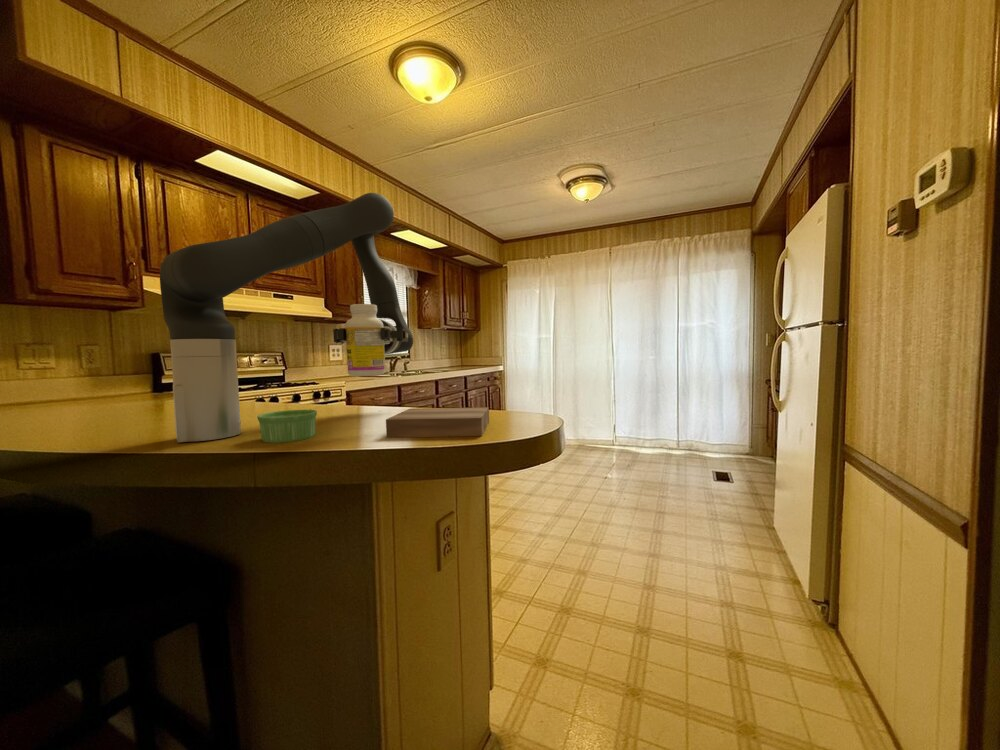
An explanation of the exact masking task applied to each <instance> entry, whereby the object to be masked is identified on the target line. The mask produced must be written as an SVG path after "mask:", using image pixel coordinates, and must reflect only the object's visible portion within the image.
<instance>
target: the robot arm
mask: <svg viewBox="0 0 1000 750" xmlns="http://www.w3.org/2000/svg"><path fill="white" fill-rule="evenodd" d="M394 213H395V212H394V208H393V206H392V204H391V202H390V201H389V200H388V199H387V198H386V197H385V196H383V195H382V194H379V193H376V192H367V193H365V194H361V196H358V197H357V198H354V199H352V200H351V201H348V202H347V203H344V204H341V205H337V206H331V207H324V208H320V209H315V210H311V211H306V212H303V213H297V214H295V215H291V216H287V217H285V218H284V217H283V218H282V219H277V220H275V221H273V222H271V223H269V224H266V225H265V226H262V227H261V228H259V229H257V230H255V231H253V232H251V233H249V234H246V235H242V236H237V237H233V238H232V237H231V238H226V239H222V240H216V241H215V240H214V241H209V242H203V243H197V244H196V243H195V244H190V245H187V246H185V247H183V248H180V249H178V250H175V251H173V252H171V253H169V254H168V255H167V256H165V258H164V259H163V260H162V262H161V264H160V270H159V286H160V295H161V296H160V297H161V306H162V314H163V318H164V319H163V320H164V322H165V325H166V326H167V328H168V332H169V333H168V334H169V339H170V340H169V341H170V343H169V344H170V356H171V357H170V358H171V371H172V372H171V373H172V394H173V395H172V397H173V410H174V411H173V412H174V423H175V424H174V425H175V437H176V442H177V443H186V442H190V443H191V442H203V441H213V440H219V439H225V438H230V437H234V436H237V435H240V434H241V433H242V429H241V428H242V422H241V409H240V407H241V406H240V393H239V377H238V376H239V375H238V359H237V358H238V357H237V345H236V344H237V343H236V341H237V340H236V328H235V326H234V324H233V323H231V322H230V321H229V320H228V318H227V317H226V314H225V306H224V305H225V304H224V298H225V297H227V296H229V295H231V294H233V293H235V292H236V291H238V290H240V289H242V288H243V287H245V286H247V285H249V284H250V283H252V282H254V281H256V280H258V279H260V278H261V277H264V276H266V275H268V274H270V273H275V272H278V271H283V270H287V269H291V268H292V269H293V268H294V267H298V266H301V265H305V264H307V263H309V262H312V261H314V260H317V259H319V258H322V257H323V256H326V255H328V254H330V253H332V252H333V251H335V250H337V249H339V248H341V247H342V246H344V245H346V244H348V243H349V242H351V243H352V246H353V249H354V252H355V254H356V257H357V259H358V262H359V265H360V267H361V270H362V273H363V276H364V280H365V285H366V287H367V288H366V289H367V294H368V297H369V302H370V303H369V304H372V305H377V314H376V317H377V319H379V320H381V321H382V323H383V328H381V339H382V340H384V350H385V356H387V355H391V354H397V353H403V352H407V351H410V350H411V349H412V347H413V345H414V336H413V334H412V332H411V329H410V328H409V326H408V324H407V322H406V320H405V318H404V315H403V313H402V311H401V307H400V302H399V297H398V291H397V287H396V283H395V281H394V279H393V277H392V275H391V273H390V272H389V270H388V269H387V267H386V265H384V263H383V261H382V260H381V257H380V256H379V255H378V252H377V248H376V242H375V235H378V234H380V233H383V232H384V231H385V232H386V230H388V229H389V227H391V225H392V223H393V221H394V219H395V218H394V217H395V214H394ZM383 319H386V320H387V319H388V320H391V321H393V322H394V324H395V325H393V324H392V323H390V322H388V321H386V320H383ZM332 332H333V333H332V334H333V343H336V344H341V345H342V344H346V327H344V328H342V327H341V328H333V329H332Z"/></svg>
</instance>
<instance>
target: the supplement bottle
mask: <svg viewBox="0 0 1000 750" xmlns="http://www.w3.org/2000/svg"><path fill="white" fill-rule="evenodd" d="M349 308H350V309H349V312H350V314H351V318H350V319H348V320H347V321H346V322H345V328H346V343H345V344H346V363H347V374H348V376H351V377H369V376H370V377H371V376H372V377H373V376H374V377H375V376H380V375H381V376H382V375H384V374H386V355H385V350H384V340H382V339H381V328H383V323H382V321H381V320H382V319H381V320H379V319H380V318H377V317H376V314H377V305H372V304H371V303H356V304H355V303H354V304H351V305H349Z"/></svg>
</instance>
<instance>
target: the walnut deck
mask: <svg viewBox="0 0 1000 750" xmlns="http://www.w3.org/2000/svg"><path fill="white" fill-rule="evenodd" d="M489 408H490V407H489V406H488V407H487V406H486V407H484V406H483V407H440V408H439V407H437V408H436V407H431V408H407V409H405V410H403V411H401V412H399V413H397V414H395V415H393V416H390V417H389V418H386V419H385V429H386V431H385V432H386V438H427V437H428V438H431V437H433V438H435V437H436V438H440V437H441V438H442V437H445V438H446V437H449V436H450V437H451V438H452V437H482V436H483V435H484V433H485V432H486V429H487V428H488V426H489V424H490V409H489ZM487 425H488V426H487Z"/></svg>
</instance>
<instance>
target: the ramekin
mask: <svg viewBox="0 0 1000 750" xmlns="http://www.w3.org/2000/svg"><path fill="white" fill-rule="evenodd" d="M317 413H318V412H317V410H315V409H287V410H286V409H285V410H277V411H270V412H264V413H260V414H257V421H258V422H259V429H260V435H261V440H262V441H263V442H265V443H269V444H270V443H271V444H280V443H281V442H282V443H291V442H298V441H302V440H307V439H310V438H313V437H314V436H315V435H316V434H315V433H316V421H317V420H316V418H317ZM282 443H281V444H282Z"/></svg>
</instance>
